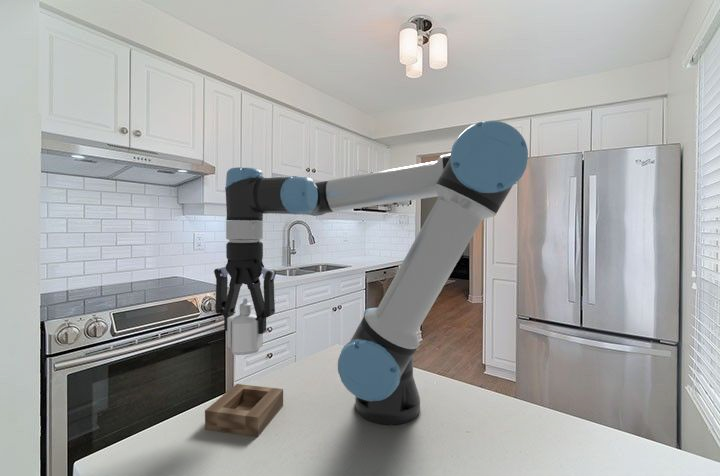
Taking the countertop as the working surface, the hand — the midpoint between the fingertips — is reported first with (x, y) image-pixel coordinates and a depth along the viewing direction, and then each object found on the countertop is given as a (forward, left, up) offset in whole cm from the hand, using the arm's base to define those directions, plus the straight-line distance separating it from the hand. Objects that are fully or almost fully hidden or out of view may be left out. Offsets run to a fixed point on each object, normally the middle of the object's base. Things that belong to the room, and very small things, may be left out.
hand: (245, 346), depth 76 cm
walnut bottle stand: (0, 0, -16) cm, 16 cm away
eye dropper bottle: (0, 0, -2) cm, 2 cm away
